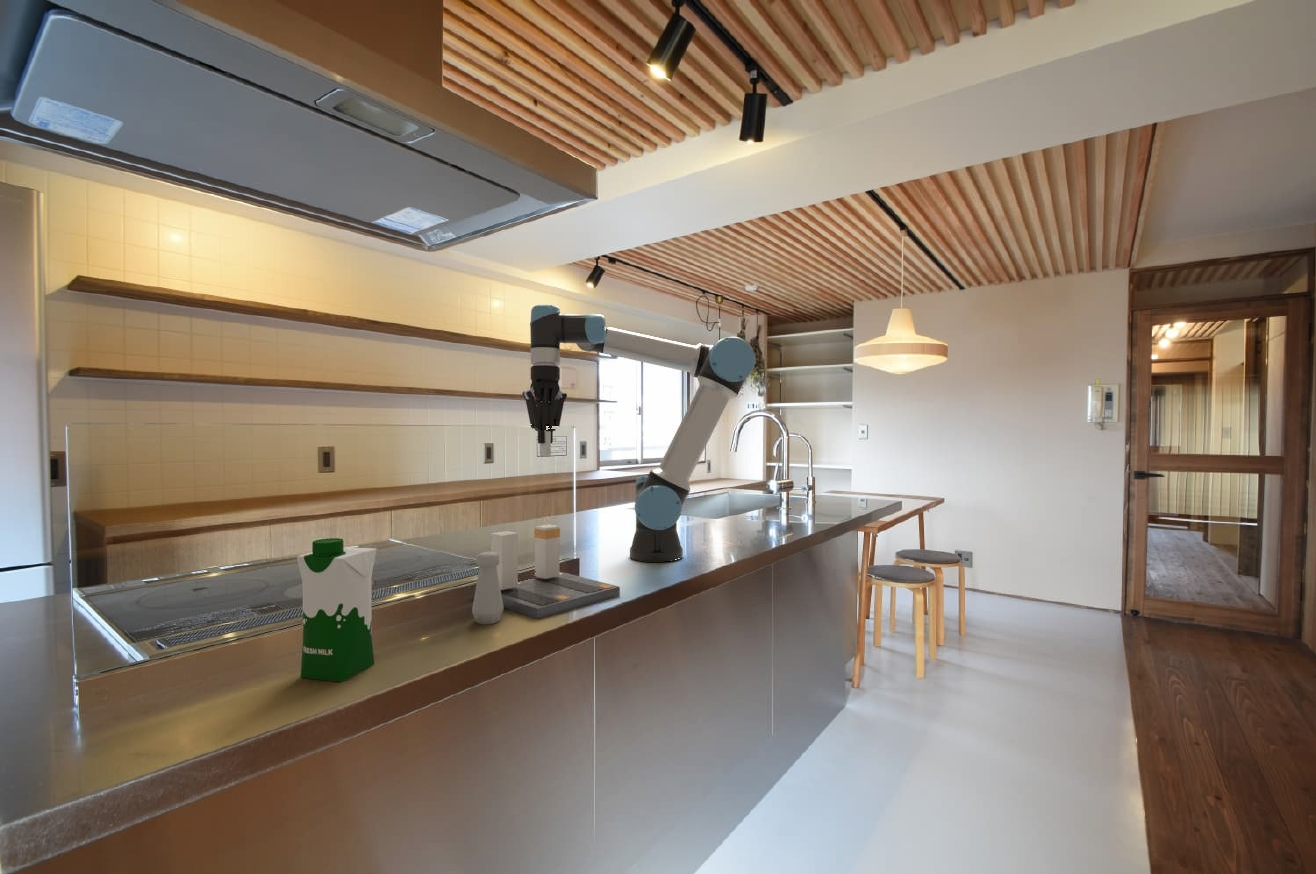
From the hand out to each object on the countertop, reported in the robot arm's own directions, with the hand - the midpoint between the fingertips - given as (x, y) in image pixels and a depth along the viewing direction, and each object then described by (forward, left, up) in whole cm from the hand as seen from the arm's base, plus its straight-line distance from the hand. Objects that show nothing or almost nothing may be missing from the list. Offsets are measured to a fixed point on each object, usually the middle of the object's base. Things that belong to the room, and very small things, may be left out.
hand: (545, 456), depth 157 cm
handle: (+11, +15, -27) cm, 33 cm away
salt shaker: (+34, +27, -30) cm, 53 cm away
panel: (+16, +22, -29) cm, 40 cm away
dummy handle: (+23, +16, -27) cm, 39 cm away
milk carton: (+62, +31, -30) cm, 75 cm away
